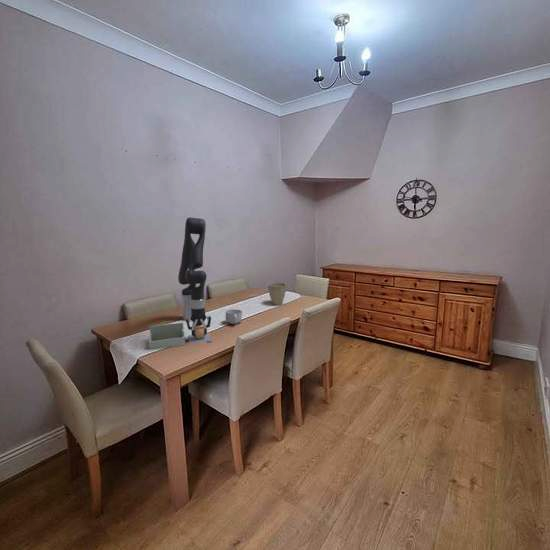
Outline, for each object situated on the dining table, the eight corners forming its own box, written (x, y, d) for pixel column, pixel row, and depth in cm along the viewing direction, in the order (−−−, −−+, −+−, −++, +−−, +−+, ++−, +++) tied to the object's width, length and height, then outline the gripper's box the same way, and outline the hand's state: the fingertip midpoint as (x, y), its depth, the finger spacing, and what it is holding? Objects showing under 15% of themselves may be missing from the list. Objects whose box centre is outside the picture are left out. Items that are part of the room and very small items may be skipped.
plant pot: (287, 301, 249) (287, 282, 246) (285, 306, 235) (285, 286, 232) (269, 300, 251) (269, 282, 248) (266, 306, 237) (266, 286, 234)
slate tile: (187, 337, 176) (187, 335, 175) (208, 334, 180) (208, 332, 179) (189, 345, 164) (189, 343, 164) (211, 342, 168) (211, 340, 168)
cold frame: (150, 341, 170) (149, 325, 168) (183, 337, 176) (182, 322, 174) (149, 351, 157) (148, 334, 156) (185, 346, 163) (184, 330, 161)
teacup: (226, 320, 205) (226, 308, 203) (242, 319, 206) (242, 308, 204) (224, 327, 191) (224, 315, 190) (241, 326, 192) (241, 314, 191)
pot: (193, 335, 174) (192, 323, 172) (204, 333, 176) (204, 322, 174) (194, 339, 168) (193, 327, 166) (206, 337, 170) (205, 325, 168)
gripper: (210, 303, 174) (211, 331, 177) (184, 305, 170) (185, 334, 173) (212, 307, 167) (213, 336, 171) (184, 309, 163) (186, 339, 166)
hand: (199, 335), depth 172 cm, fingers closed on pot, 5 cm apart
